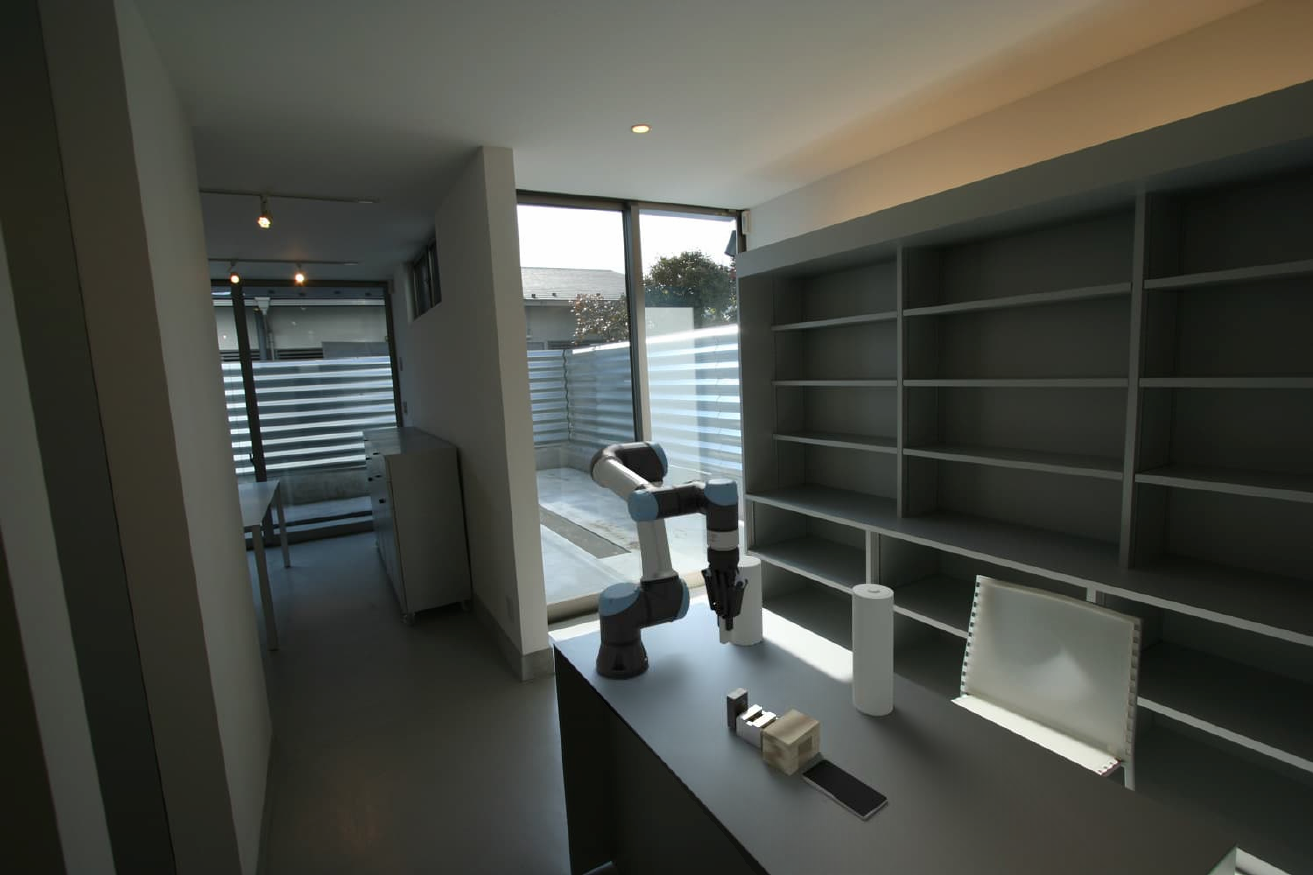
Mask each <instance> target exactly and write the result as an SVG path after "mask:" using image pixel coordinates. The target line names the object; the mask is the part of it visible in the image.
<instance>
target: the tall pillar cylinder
mask: <svg viewBox="0 0 1313 875" xmlns="http://www.w3.org/2000/svg"><path fill="white" fill-rule="evenodd" d="M739 557H740V560H739V563H738V569H739V575H740V576H741V577H742V579H743V580H744V579H747V580H748V584H747V585H746V587H745V590H744V595H743V601H742V606H741V612H740V615H738V616H736V617H734V618H733V630H732V641H730V643H732V642H733V643H732V644H734V645H737V646H741V647H742V646H743V647H747V646H748V645H751V646H755V645H754V644H756V643H758V642H760V641H761V640H762V639H764V636H763V635H764V634H763V633H764V631H763V630H764V628H763V627H764V626H763V590H762V588H763V587H762V586H763V584H762V583H763V582H762V580H763V579H762V561H761V559H760V558H759V557H756V556H752V555H744V554H743V555H739ZM735 582H736V580H735ZM734 588H735V587H734ZM762 641H763V640H762ZM762 641H761V642H762ZM761 642H760V643H761ZM758 644H759V643H758ZM745 645H746V646H745ZM756 645H757V644H756ZM748 647H749V646H748Z"/></svg>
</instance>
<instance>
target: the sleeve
mask: <svg viewBox="0 0 1313 875" xmlns="http://www.w3.org/2000/svg"><path fill="white" fill-rule="evenodd" d="M753 716H756V717H758V718H759V719H757V720H756V721H754V722H753V723H752V722H750V721H748V720H749V719H750V718H752V717H753ZM778 719H779V717H777V715H776V714H775V713H772V712H771V711H768V712H766V711H764V710H763V707H762V706H759V705H757V704H753V706H752V707H751V706H750V707H749V708H748V710H747V711H745V712H743V713H742V714H740V715H739V716H738V717H736V724H737V730H736V737H737V738H740V739H742V740H743V741H745V742H747V743H748V744H750V745H751V746H754V747H755V748H757V749H758V750H760V751H762V750H763V733H762V730H763V728H762V727H763V726H765V725H766V724H768V723H769V724H772V723H773V722H775V721H776V720H778Z"/></svg>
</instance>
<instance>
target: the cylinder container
mask: <svg viewBox="0 0 1313 875" xmlns="http://www.w3.org/2000/svg"><path fill="white" fill-rule="evenodd" d="M851 590H852V591H851V592H852V593H851V594H852V599H851V600H852V601H851V602H852V603H851V604H852V606H851V607H852V616H851V617H852V620H851V621H852V622H851V623H852V626H851V627H852V632H851V633H852V635H851V636H852V705H853V706H854V708H855V709H856V710H857V711H859V712H861V713H862V714H866V715H869V716H873V717H874V716H877V717H878V716H879V717H880V716H886V715H888V714H891V712H892V711H893V709H894V601H895V600H894V599H895V598H894V591H893V590H892V589H891V588H890V587H887V586H885V585H881V584H876V583H862V584H860V583H859V584H856V585H854V586H853V587H852V588H851Z"/></svg>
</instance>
